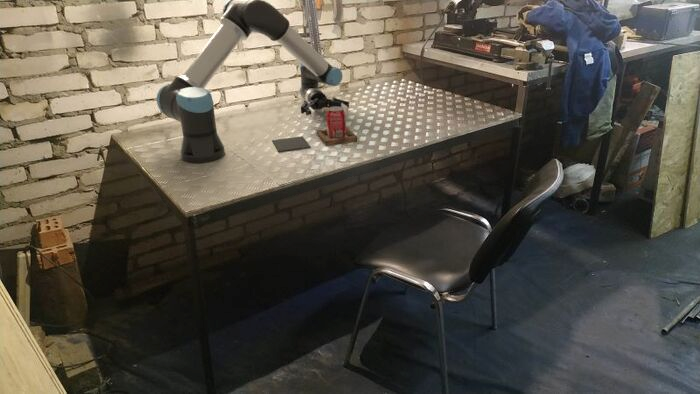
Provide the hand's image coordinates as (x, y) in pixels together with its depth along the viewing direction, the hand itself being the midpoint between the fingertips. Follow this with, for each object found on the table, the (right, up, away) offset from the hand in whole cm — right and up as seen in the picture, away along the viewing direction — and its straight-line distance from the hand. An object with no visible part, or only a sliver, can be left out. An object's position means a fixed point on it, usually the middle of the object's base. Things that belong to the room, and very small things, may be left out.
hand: (330, 112), depth 202 cm
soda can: (+2, -11, -3) cm, 11 cm away
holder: (+2, -10, -3) cm, 11 cm away
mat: (-15, -13, -8) cm, 21 cm away
